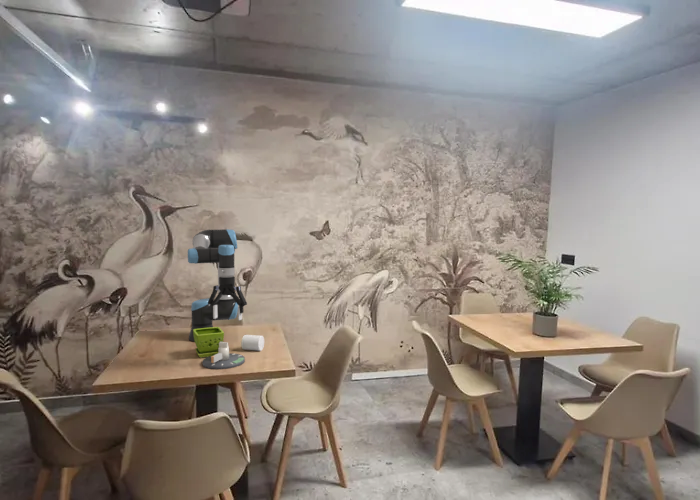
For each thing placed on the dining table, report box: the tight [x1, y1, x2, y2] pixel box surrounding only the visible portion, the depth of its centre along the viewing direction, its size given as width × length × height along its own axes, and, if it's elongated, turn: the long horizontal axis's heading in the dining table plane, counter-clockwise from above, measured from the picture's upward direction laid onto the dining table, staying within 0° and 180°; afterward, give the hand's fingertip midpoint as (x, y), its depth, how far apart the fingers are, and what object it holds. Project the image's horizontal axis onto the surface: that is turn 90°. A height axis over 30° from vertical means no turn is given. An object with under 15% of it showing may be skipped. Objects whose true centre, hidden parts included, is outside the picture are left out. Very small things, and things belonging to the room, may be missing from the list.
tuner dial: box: [202, 352, 246, 370], centre depth 217 cm, size 20×20×2 cm
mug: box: [240, 334, 265, 352], centre depth 241 cm, size 12×10×8 cm
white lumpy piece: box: [211, 341, 230, 363], centre depth 214 cm, size 12×5×8 cm, turn 161°
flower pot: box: [193, 326, 225, 359], centre depth 231 cm, size 14×14×13 cm
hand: (227, 319), depth 217 cm, fingers open, 13 cm apart
